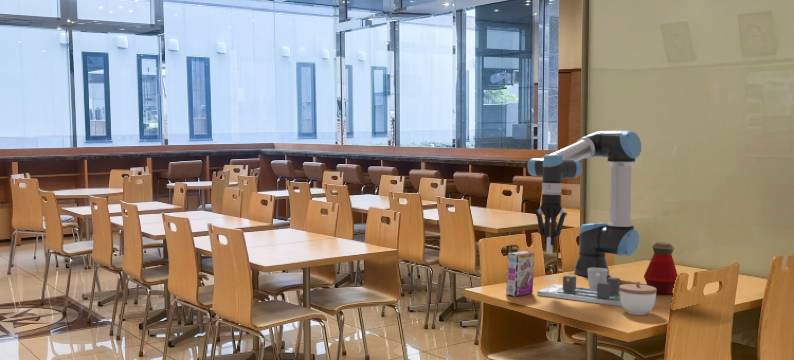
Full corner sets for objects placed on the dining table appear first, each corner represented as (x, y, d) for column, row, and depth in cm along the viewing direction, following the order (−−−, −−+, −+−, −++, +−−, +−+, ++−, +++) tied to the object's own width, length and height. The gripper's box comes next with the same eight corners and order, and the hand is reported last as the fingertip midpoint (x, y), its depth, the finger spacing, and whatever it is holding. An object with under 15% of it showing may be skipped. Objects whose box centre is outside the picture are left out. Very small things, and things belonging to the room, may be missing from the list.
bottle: (646, 287, 323) (648, 239, 322) (680, 291, 317) (682, 242, 316) (640, 294, 309) (641, 243, 308) (676, 297, 303) (678, 246, 302)
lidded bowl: (634, 318, 267) (636, 286, 267) (610, 310, 279) (612, 279, 278) (663, 315, 272) (664, 284, 272) (638, 307, 284) (640, 277, 283)
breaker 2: (599, 295, 295) (600, 281, 294) (610, 296, 292) (611, 282, 292) (596, 297, 292) (597, 282, 291) (607, 298, 289) (608, 284, 289)
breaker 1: (566, 288, 308) (566, 274, 308) (575, 289, 306) (576, 275, 305) (562, 289, 305) (563, 275, 304) (572, 290, 303) (573, 277, 302)
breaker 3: (609, 290, 305) (609, 276, 304) (619, 291, 303) (620, 278, 302) (606, 292, 302) (607, 278, 301) (616, 293, 300) (617, 279, 299)
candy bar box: (516, 297, 298) (517, 254, 297) (505, 295, 301) (507, 253, 300) (533, 293, 305) (534, 252, 305) (523, 291, 309) (524, 250, 308)
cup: (608, 292, 312) (608, 272, 311) (587, 291, 313) (588, 271, 313) (606, 287, 322) (607, 268, 322) (586, 286, 324) (587, 267, 323)
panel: (553, 288, 318) (554, 283, 318) (638, 298, 300) (638, 294, 300) (537, 295, 303) (537, 290, 303) (625, 306, 285) (625, 302, 285)
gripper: (532, 193, 308) (530, 252, 309) (564, 195, 301) (561, 256, 302) (539, 192, 314) (537, 250, 315) (570, 194, 307) (568, 254, 309)
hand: (549, 253), depth 309 cm, fingers closed
